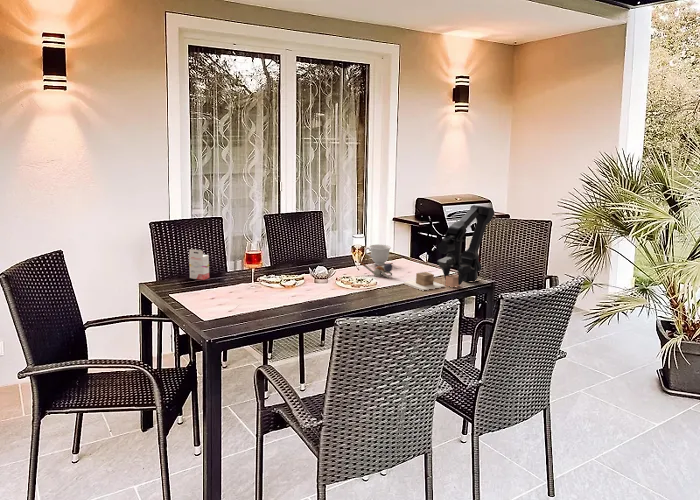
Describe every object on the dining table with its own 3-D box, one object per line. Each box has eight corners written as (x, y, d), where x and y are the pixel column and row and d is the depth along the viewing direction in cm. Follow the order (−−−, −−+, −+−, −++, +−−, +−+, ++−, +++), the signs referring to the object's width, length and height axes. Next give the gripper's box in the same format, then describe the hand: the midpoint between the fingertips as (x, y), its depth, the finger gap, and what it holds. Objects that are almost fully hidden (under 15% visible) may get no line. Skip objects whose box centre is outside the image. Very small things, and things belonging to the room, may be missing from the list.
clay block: (452, 284, 291) (453, 274, 290) (459, 287, 287) (460, 277, 286) (445, 285, 288) (445, 276, 287) (452, 288, 284) (453, 278, 283)
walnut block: (425, 281, 291) (425, 271, 290) (433, 284, 286) (433, 274, 285) (415, 283, 287) (416, 273, 286) (423, 286, 282) (424, 275, 281)
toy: (384, 284, 299) (394, 268, 296) (355, 266, 302) (364, 250, 299) (388, 280, 308) (398, 264, 305) (360, 262, 310) (369, 246, 307)
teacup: (361, 262, 333) (362, 244, 331) (386, 261, 337) (387, 244, 335) (367, 267, 322) (367, 249, 320) (393, 266, 325) (393, 248, 323)
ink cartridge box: (209, 278, 290) (209, 248, 287) (203, 280, 285) (203, 250, 282) (195, 276, 293) (194, 247, 290) (189, 278, 288) (188, 248, 285)
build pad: (426, 280, 296) (426, 278, 296) (444, 287, 285) (445, 285, 285) (404, 284, 289) (404, 282, 288) (422, 291, 277) (422, 289, 277)
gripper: (429, 249, 287) (427, 280, 290) (456, 256, 272) (453, 289, 275) (446, 247, 293) (444, 277, 296) (473, 254, 278) (471, 286, 281)
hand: (452, 282), depth 287 cm, fingers open, 9 cm apart
